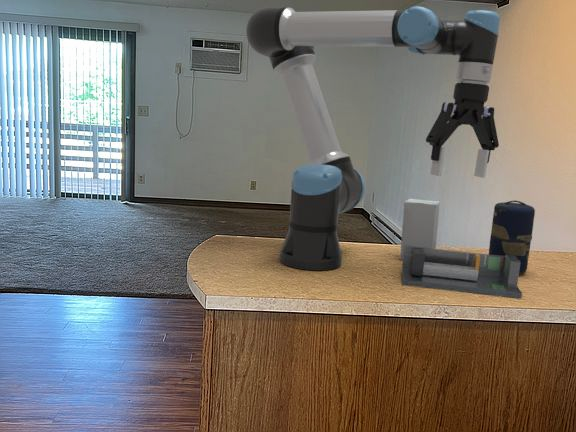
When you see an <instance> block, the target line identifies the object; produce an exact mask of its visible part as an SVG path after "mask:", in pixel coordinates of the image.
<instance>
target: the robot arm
mask: <svg viewBox="0 0 576 432" xmlns="http://www.w3.org/2000/svg"><path fill="white" fill-rule="evenodd" d="M464 16H465V17H464V18H463V20H444V19H441V18H440V17H438V16H437V15H436V14H435V13H434V12H433V11H432V10H431V9H428V8H427V7H423V6H418V5H415V6H412V7H409V8H407V9H402V10H400V9H399V10H398V9H397V10H393V9H389V10H340V11H339V10H337V11H336V10H332V11H328V10H327V11H326V10H325V11H296V10H294V8H292V7H276V6H266V7H261V8H259V9H257V10H256V11H255V12H253V13H252V14H251V16H250V17H249V19H248V21H247V23H246V27H245V34H246V39H247V42H248V44H249V46H250V47H251V48H252V49H253V50H254V51H255V52H256V53H258V55H259V54H260V55H262V56H264V57H268V58H269V61H270V63H271V66H272V70H273V72H274V74H276V75H278V76H280V77H281V79H282V81H283V84H284V87H285V91H286V94H287V97H288V99H289V102H290V106H291V108H292V110H293V115H294V118H295V120H296V123H297V126H298V128H299V132H300V135H301V138H302V141H303V143H304V144H303V145H304V147H305V149H306V153H307V155H308V156H307V157H308V159H309V164H306V165H301V166H299V167H297V168H295V170H294V172H293V173H292V180H291V182H290V187H291V193H290V209H289V221H288V222H289V226H288V231H287V233H286V237H285V238H284V241H283V244H282V246H281V249H280V252H279V261H280V263H281V264H283V265H285V266H287V267H290V268H295V269H299V270H307V271H329V270H335V269H338V268H341V266H342V263H343V254H342V250H341V247H340V245H341V244H340V242H339V237H338V224H339V223H338V222H339V214H342V213H347V212H350V211H352V210H353V209H354V208H356V207H357V206H358V205H359V204H360V203H361V202H362V200H363V198H364V195H365V192H366V189H365V188H366V185H365V180H364V177H363V175H362V174H361V173H360V172H359V171H358V169H355V167H354V166H353V163H352V159H351V157H350V155H349V154H347V153H345V152H343V151H342V149H341V146H340V144H339V140H338V139H339V138H338V136H337V134H336V131H335V128H334V125H333V121H332V120H331V116H330V114H329V110H328V107H327V104H326V101H325V99H324V96H323V92H322V90H321V87H320V84H319V81H318V78H317V73H316V72H315V69H314V63H315V61H316V60H317V59H316V58H317V56H316V54H315V51H314V48H315V47H388V48H389V47H395V48H397V47H398V48H408V51H409V52H410V53H412V54H421V55H447V56H448V55H452V56H458V57H459V59H458V62H457V63H458V64H457V68H456V76H455V80H456V81H457V83H455V84H454V89H453V96H452V97H453V99H454V102H446V101H445V102H442V105H441V108H440V109H441V110H440V112H439V114H438V116H437V118H436V120H435V122H434V123H433V125H432V127H431V128H430V131H429V133H428V135H427V136H426V137H425V141H426V143H429V145H430V146H432V147H431V148H432V149H431V155H430V159H431V161H432V162H431V168H430V175H432V176H437V177H441V176H442V171H443V164H444V159H445V151H446V147H445V146H444V145H445V143H446V142H447V141H448V139H449V138H450V137H451V136H452V135H453V134H454V132H455V131H456V130H457V129H458V128H459V127H460V126H462V125H466V126H467V125H468V126H470V127H471V128H473V132H474V134H475V135H476V138H477V140H478V142H479V143H478V144H480V147H481V148H477V149H478V150H477V155H476V156H477V157H476V161H475V162H476V163H475V169H474V173H473V174H474V177H477V178H478V177H479V178H483V179H484V178H485V177H486V172H487V167H488V164H489V161H490V157H491V151H495V149H496V148H498V147H499V146H500V145H499V140H498V139H499V138H498V133H497V128H496V123H495V117H494V116H495V108H494V106H485V103H486V102H487V101H488V100H489V99H488V98H489V92H490V85H488V84H490V83H491V78H492V73H493V65H494V61H495V57H496V56H495V55H496V49H497V43H498V38H499V29H500V20H501V17H500V15H499V14H498V13H497V12H495V11H491V10H483V9H482V10H481V9H478V10H477V9H476V10H469V11H467V12H466V14H465V15H464Z"/></svg>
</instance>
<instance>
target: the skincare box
mask: <svg viewBox="0 0 576 432" xmlns="http://www.w3.org/2000/svg"><path fill="white" fill-rule="evenodd" d="M440 205H441V201H438V200H427V199H418V198H417V199H416V198H408V199H407V200H405V201H404V203H403V214H402V215H403V217H402V229H401V230H402V231H401V242H400V243H401V244H400V255H399V259H400V260H403V254H404V246H414V247H424V248H433V249H437V239H438V238H437V237H438V229H439V228H438V227H439V215H440Z"/></svg>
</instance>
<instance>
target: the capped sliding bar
mask: <svg viewBox="0 0 576 432" xmlns="http://www.w3.org/2000/svg"><path fill="white" fill-rule="evenodd" d="M424 259H425V252H424V250H423V249H414V248H413V257H412V266H411V273H412V275H417V276H423V275H430V276H439V277H448V278H457V279H466V280H475V281H477V278H478V271H479V263H480V255H479V254H475V259H474V267H466V266H457V265H448V264H439V263H430V262H424Z"/></svg>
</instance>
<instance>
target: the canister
mask: <svg viewBox="0 0 576 432" xmlns="http://www.w3.org/2000/svg"><path fill="white" fill-rule="evenodd" d="M492 214H493V215H492V222H491V224H492V225H491V230H490V231H491V232H490V238H489V248H488V254H490V255H500V256H506V255H514V256H516V257H517V259H518V260H519V261H520V262H521V263H520V270H519V275H520V274H523V273H525V272H526V271H527V270H528V264H529V259H530V258H529V257H530V250H531V243H532V239H533V230H534V229H533V228H534V223H535V222H534V221H535V215H536V209H535V208H534V207H533V206H532V205H528V204H526V203H525V202H523V201H519V200H509V201H505V202H497V203H495V204H494V208H493V213H492Z"/></svg>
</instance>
